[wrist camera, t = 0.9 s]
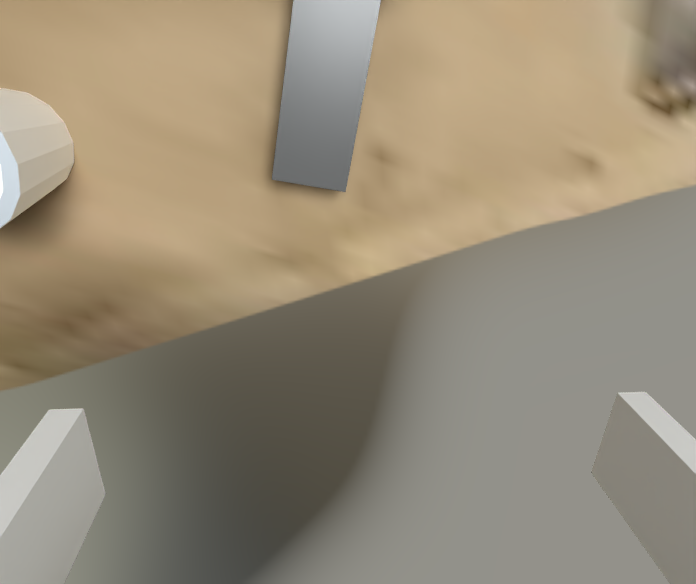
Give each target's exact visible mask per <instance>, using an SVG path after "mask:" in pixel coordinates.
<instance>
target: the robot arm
mask: <svg viewBox="0 0 696 584" xmlns="http://www.w3.org/2000/svg"><path fill="white" fill-rule="evenodd" d="M591 473H592V474H593V476H594V477H595V479H596V480H597V482H598V483H599V484H600V486H601V487H602V489H603V490H604V491H605V493H606V494H607V496H608V497H609V498H610V500H611V501H612V503H613V504H614V505H615V507H616V508H617V510H618V511H619V513H620V514H621V515H622V517H623V518H624V520H625V521H626V522H627V524H628V525H629V527H630V528H631V530H632V531H633V532H634V534H635V535H636V537H637V538H638V539H639V541H640V542H641V544H642V545H643V547H644V548H645V549H646V551H647V552H648V553H649V555H650V556H651V558H652V559H653V561H654V562H655V563H656V565H657V566H658V568H659V569H660V571H661V572H662V573H663V575H664V576H665V578H666V579H667V580H668V582H669V583H670V584H696V439H695V438H693V437H692V436H691V435H690V434H689V433H688V432H687V431H686V430H685V429H684V428H683V427H682V426H681V425H680V424H679V423H677V421H676V420H674V419H673V418H672V417H671V416H670V415H669V414H668V413H667V412H666V411H665V410H664V409H663V408H662V407H661V406H660V405H659V404H658V403H657V402H656V401H655V400H653V399H652V398H651V397H650V396H649V395H648V394H647V393H646V392H627V393H626V392H625V393H617V396H616V399H615V402H614V405H613V408H612V411H611V414H610V417H609V420H608V423H607V426H606V429H605V432H604V435H603V438H602V441H601V444H600V447H599V450H598V453H597V456H596V459H595V462H594V466H593V468H592V471H591ZM105 495H106V493H105V489H104V485H103V481H102V477H101V474H100V470H99V466H98V462H97V458H96V454H95V450H94V446H93V443H92V439H91V435H90V431H89V427H88V423H87V419H86V415H85V411H84V409H83V408H79V409H49V410H48V412H47V413H46V414H45V416H44V417H43V418H42V420H41V421H40V422H39V424H38V425H37V426H36V428H35V429H34V430H33V432H32V433H31V434H30V436H29V437H28V439H27V440H26V441H25V443H24V444H23V445H22V447H21V448H20V449H19V451H18V452H17V453H16V455H15V456H14V457H13V459H12V460H11V461H10V463H9V464H8V465H7V467H6V468H5V469H4V471H3V472H2V473H1V475H0V584H64V583H65V581H66V579H67V577H68V575H69V572H70V570H71V568H72V566H73V564H74V562H75V559H76V557H77V555H78V553H79V551H80V549H81V547H82V545H83V542H84V540H85V538H86V536H87V534H88V532H89V529H90V527H91V525H92V523H93V521H94V518H95V516H96V514H97V512H98V510H99V508H100V506H101V504H102V501H103V499H104V497H105Z"/></svg>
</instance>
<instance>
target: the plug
mask: <svg viewBox="0 0 696 584" xmlns="http://www.w3.org/2000/svg"><path fill="white" fill-rule="evenodd" d="M380 2H381V0H293V8H292V17H291V25H290V33H289V42H288V50H287V58H286V67H285V75H284V83H283V91H282V100H281V108H280V116H279V125H278V133H277V141H276V150H275V158H274V166H273V174H272V180H278V181H284V182H289V183H295V184H301V185H307V186H313V187H319V188H325V189H331V190H337V191H343V192H346V186H347V181H348V175H349V170H350V165H351V159H352V154H353V148H354V143H355V138H356V132H357V127H358V121H359V116H360V110H361V105H362V100H363V94H364V89H365V83H366V78H367V73H368V67H369V62H370V56H371V51H372V46H373V40H374V35H375V29H376V24H377V19H378V13H379V8H380Z"/></svg>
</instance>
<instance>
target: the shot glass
mask: <svg viewBox="0 0 696 584" xmlns="http://www.w3.org/2000/svg"><path fill="white" fill-rule="evenodd" d="M73 164H74V144H73V140H72V138H71V136H70V134H69V131H68V129H67V127H66V124H65V122H64V121H63V120H62V119H61V118H60V117H59V116H58V115H57V113H56V112H55V111H54V110H53V109H52V108H51V107H50V106H49V105H48V104H47V103H45V102H43V101H41V100H40V99H38V98H36V97H34V96H33V95H31V94H29V93H27V92H22V91H17V90H11V89H6V88H0V228H2V227H3V226H5V225H6V224H7V223H9V222H10V221H11V220H13V219H14V218H15V217H17V216H18V215H20V214H21V213H22V212H24V211H25V210H26V209H28V208H29V207H30V206H32V205H33V204H35V203H36V202H37V201H39V200H40V199H41V198H43V197H44V196H45V195H47V194H48V193H50V192H51V191H52V190H54V189H55V188H56V187H57V186H59V185H60V184H61V183H62V182H64V181H65V180H66V179H67V178H68V176H69V173H70V171H71V169H72V166H73Z"/></svg>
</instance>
